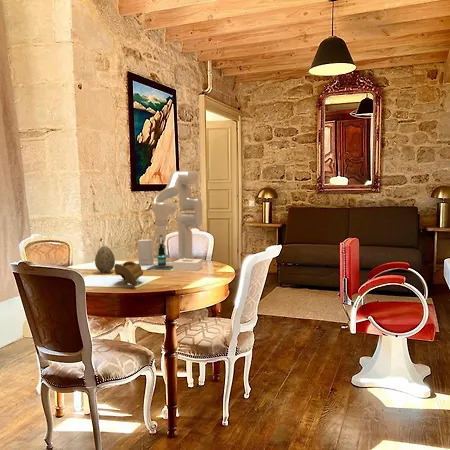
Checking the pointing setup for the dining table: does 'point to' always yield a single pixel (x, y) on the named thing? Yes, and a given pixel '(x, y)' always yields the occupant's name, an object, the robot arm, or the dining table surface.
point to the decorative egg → (104, 259)
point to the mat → (160, 267)
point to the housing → (187, 264)
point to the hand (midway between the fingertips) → (161, 253)
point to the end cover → (161, 257)
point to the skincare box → (145, 252)
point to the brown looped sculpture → (129, 272)
